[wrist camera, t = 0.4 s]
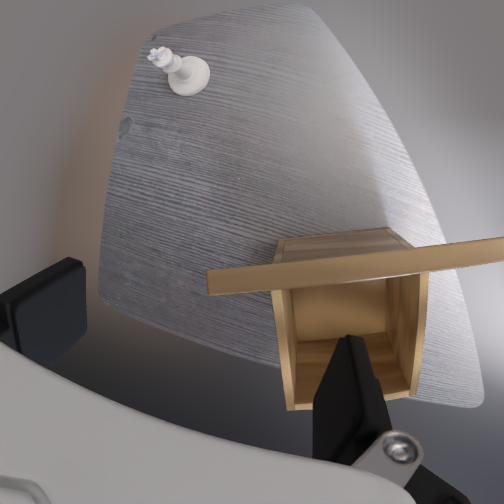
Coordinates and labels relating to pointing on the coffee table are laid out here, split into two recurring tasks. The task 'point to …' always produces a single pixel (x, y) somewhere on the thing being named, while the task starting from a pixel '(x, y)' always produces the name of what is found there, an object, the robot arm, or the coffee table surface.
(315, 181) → the coffee table surface
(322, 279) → the lid
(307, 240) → the box
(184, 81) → the chess piece
